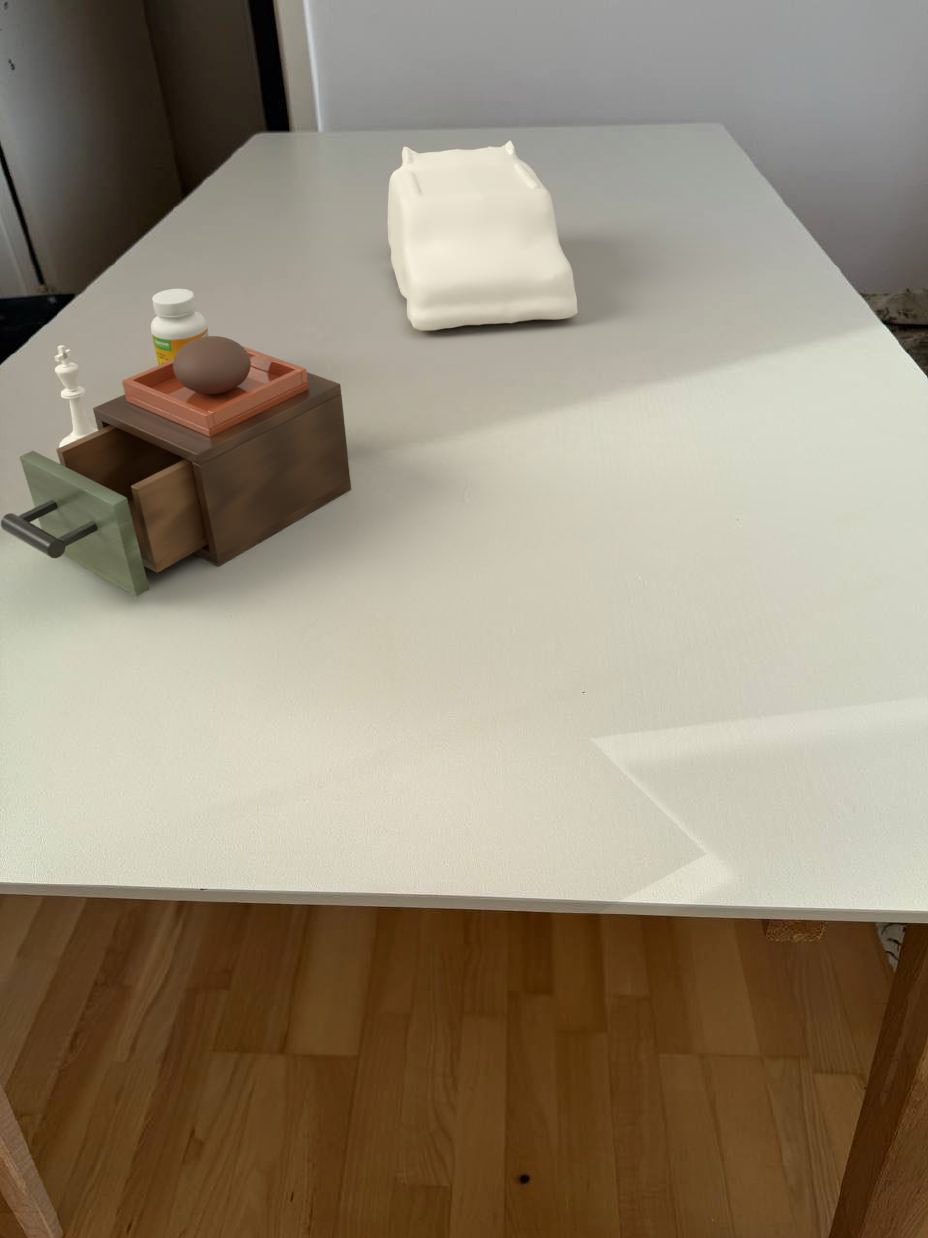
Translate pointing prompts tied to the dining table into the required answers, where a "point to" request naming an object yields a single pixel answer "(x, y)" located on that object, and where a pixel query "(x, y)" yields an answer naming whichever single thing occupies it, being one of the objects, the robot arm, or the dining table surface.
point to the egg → (211, 365)
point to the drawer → (112, 507)
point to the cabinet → (254, 463)
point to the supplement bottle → (175, 322)
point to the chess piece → (72, 396)
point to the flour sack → (475, 240)
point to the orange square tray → (216, 411)
